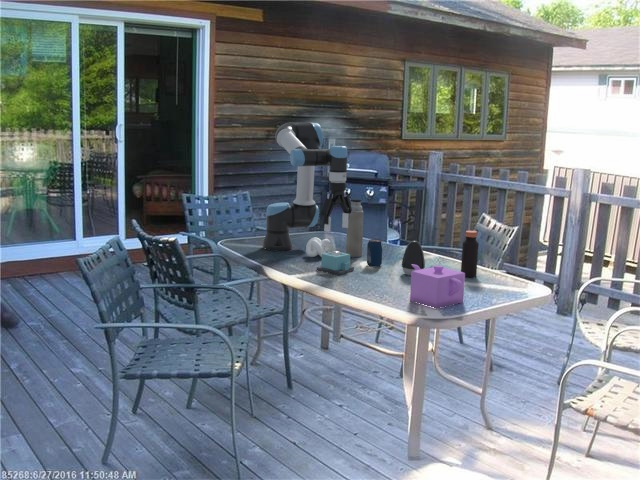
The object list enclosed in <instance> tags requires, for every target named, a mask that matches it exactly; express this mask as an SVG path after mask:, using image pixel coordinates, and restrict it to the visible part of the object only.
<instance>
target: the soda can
mask: <svg viewBox="0 0 640 480" xmlns="http://www.w3.org/2000/svg"><path fill="white" fill-rule="evenodd" d="M366 246H367V252H366V264H367V266H368V267H370V268H380V267H381V266H382V263H383V242H382V240H381V239H373V238H372V239H369V240H368V242H367V245H366Z"/></svg>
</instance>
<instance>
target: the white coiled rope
mask: <svg viewBox="0 0 640 480" xmlns="http://www.w3.org/2000/svg"><path fill="white" fill-rule="evenodd" d="M305 246H306V247H305V253H306V255H307V256H308V257H309V258H315V257H317V256H320V258H322V254H323V253H328V252H327V251H329V249H330V247H331V242H330V240H329V239H328V238H323V239H322V240H321V239H320V238H318V237H315V236H314V237H312V238H310V239H308V241H307V243H306V245H305Z"/></svg>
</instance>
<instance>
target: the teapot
mask: <svg viewBox="0 0 640 480" xmlns="http://www.w3.org/2000/svg"><path fill="white" fill-rule="evenodd" d="M411 265H412V266H413V267H414V269H415V271H412V272H411V276H410V292H409V293H410V294H409V301H410V302H411V301H413V302H412V303H414V302H417V303H420V304H419V305H421V304H424V305H427V306H431V307H434V308H440V307H444V308H446V307H445V306H448V307H450V306H449V305H452V306H454V305H453V304H456V305H458V303H460V304H463V303H464V294H465V292H464V291H465V281H466V280H465V279H466V277H465V273H463V272H461V271H458V270H455V269H451V268H447V267H444V266H443V265H440V264H435V265H433V266H432V267H428V268H424V269H420V267H419V266H418V265H415V264H411ZM417 303H416V304H417ZM424 305H423V306H424ZM427 306H426V307H427ZM440 309H441V308H440Z"/></svg>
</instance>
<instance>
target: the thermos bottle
mask: <svg viewBox="0 0 640 480" xmlns="http://www.w3.org/2000/svg"><path fill="white" fill-rule="evenodd" d="M361 201H362V199H357V198H353V199H351V200H350V204H351V208H352V211H351V213H349V219H348V228H346V239H345V240H346V241H345V242H346V243H345V244H346V245H345V246H346V247H345V253H346V254H350V258H351V257H352V258H357V257H358V258H359V257H362V256H363V242H364V241H363V237H364V235H363V234H364V233H363V232H364V210H363V206H362V205H361V204H362V203H361Z"/></svg>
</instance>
